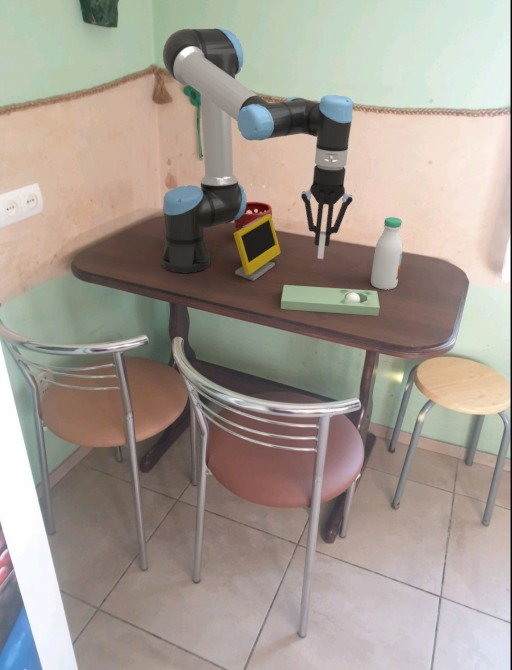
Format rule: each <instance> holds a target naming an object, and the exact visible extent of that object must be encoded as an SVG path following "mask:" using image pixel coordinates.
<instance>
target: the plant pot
mask: <svg viewBox="0 0 512 670" xmlns="http://www.w3.org/2000/svg"><path fill="white" fill-rule="evenodd" d="M255 210H257V212H255ZM248 211H250V212H251V213H248ZM267 214H271V217H273V208H272V206H271V205H270V204H268V203H265V202H260V201H247V202H246V209H245V211H244V213H243V215H242V216H241V217H240V218H239V219H237V220H235V221H233V222H234V227H235V230H236V232H237V231H238V230H240V229H242V228H243V226H245V225H246V224H248V223H250V222H252V221H254V220H255V219H257V218H259V217H263V216H265V215H267Z"/></svg>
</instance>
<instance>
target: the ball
mask: <svg viewBox="0 0 512 670" xmlns="http://www.w3.org/2000/svg"><path fill="white" fill-rule="evenodd" d="M345 299H346V300H348V301H350V302H357V303H361V302H360V297H359V295H358V294H356V293H349V294H348V295H347V296H346V298H345Z"/></svg>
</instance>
